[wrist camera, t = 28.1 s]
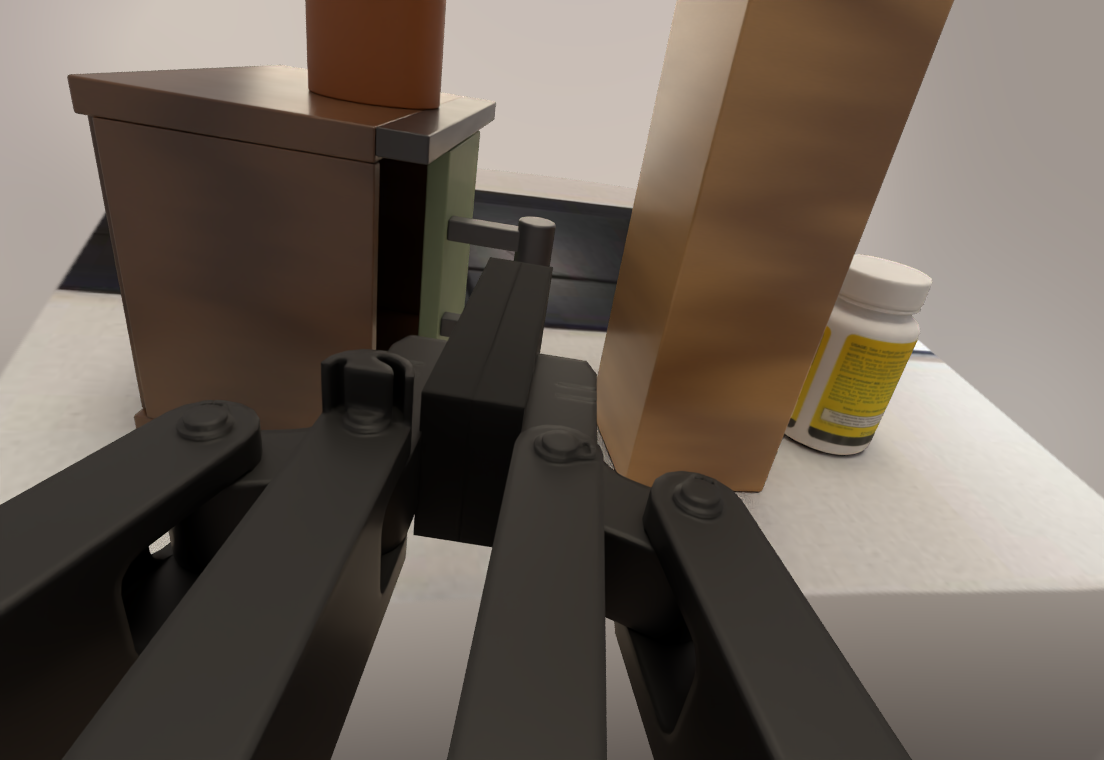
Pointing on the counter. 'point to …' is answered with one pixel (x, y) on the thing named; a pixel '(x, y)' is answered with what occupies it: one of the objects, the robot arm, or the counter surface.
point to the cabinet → (260, 227)
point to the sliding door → (464, 238)
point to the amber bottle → (376, 51)
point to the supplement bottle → (860, 356)
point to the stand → (750, 221)
